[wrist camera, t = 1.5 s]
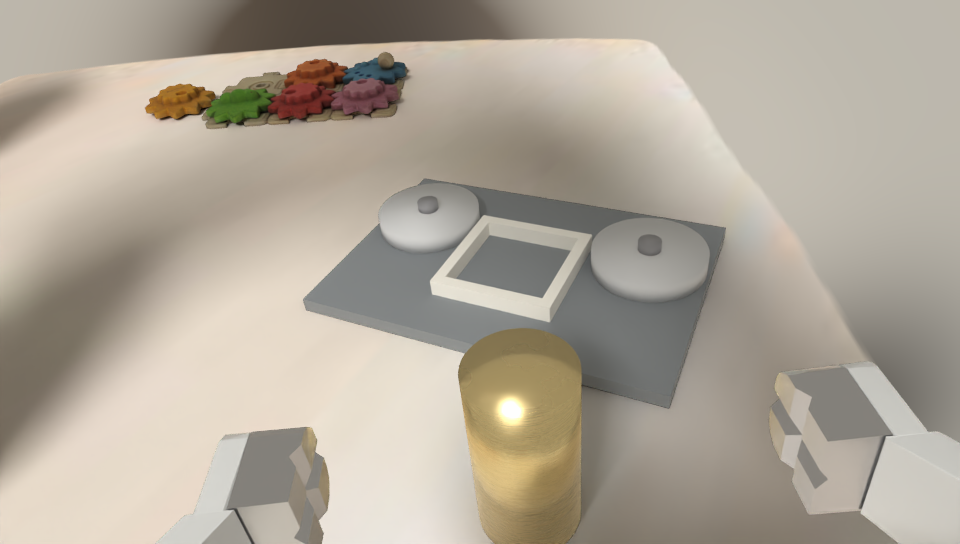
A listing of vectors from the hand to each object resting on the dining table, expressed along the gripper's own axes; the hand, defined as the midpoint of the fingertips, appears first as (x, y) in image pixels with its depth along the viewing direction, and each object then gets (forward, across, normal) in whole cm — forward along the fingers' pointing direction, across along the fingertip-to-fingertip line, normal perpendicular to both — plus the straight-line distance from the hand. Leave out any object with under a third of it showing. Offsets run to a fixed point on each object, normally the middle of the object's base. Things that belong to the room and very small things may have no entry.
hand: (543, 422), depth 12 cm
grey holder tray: (+33, -1, +20) cm, 39 cm away
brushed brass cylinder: (+13, 0, +21) cm, 25 cm away
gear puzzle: (+72, +25, +19) cm, 79 cm away
